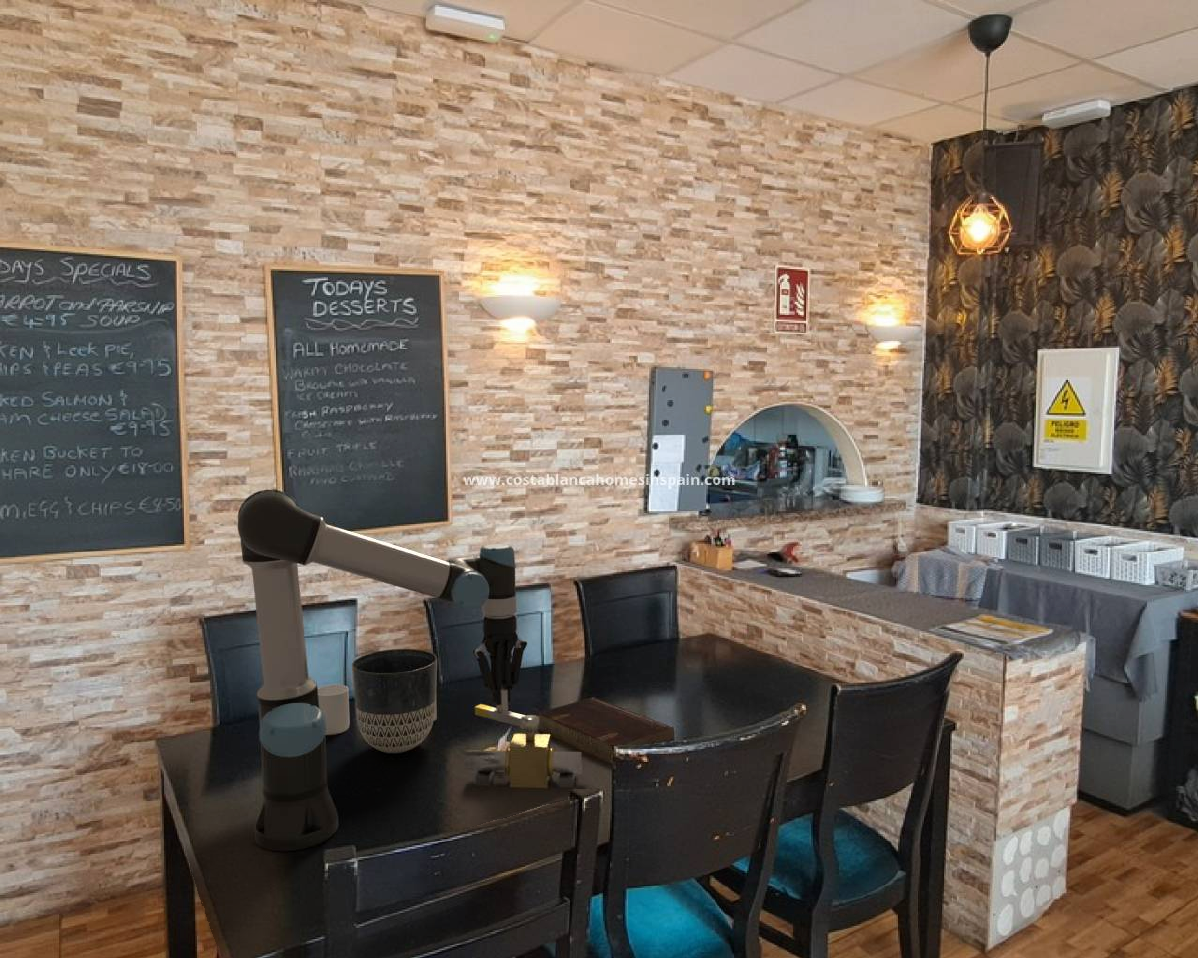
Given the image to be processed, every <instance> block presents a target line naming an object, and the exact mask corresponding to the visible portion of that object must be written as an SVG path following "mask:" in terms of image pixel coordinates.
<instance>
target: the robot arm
mask: <svg viewBox="0 0 1198 958" xmlns="http://www.w3.org/2000/svg"><path fill="white" fill-rule="evenodd" d="M237 532H238V536H239V538H240V547H241V548H240V549H241V556H242V562H243V564H245V565H247V566H248V567H249V568H250V570H251V572H252V583H253V591H254V592H253V593H254V602H255V610H256V621H257V631H258V638H259V647H260V658H261V659H260V660H261V666H262V667H261V668H262V676H263V685H262V686H261V687H260V688H259V689H258V691H257V693H256V697H257V705H258V714H259V715H258V716H259V717H258V718H259V728H260V729H259V730H258V731H259V732H258V733H259V734H258V736H259V742H260V753H261V777H262V778H261V780H262V800H261V803H260V807H259V811H258V814H257V817H256V820H255V824H254V840H255V841H254V842H255V843H256V844H257V846H259V847H260V848H262V849H265V850H268V851H272V852H274V851H275V852H292V851H294V852H295V851H299V850H305V849H309V848H311V847H314V846H316V845H319V844H321V843H323V842H325V841H327V840H328V839H330V838H331V837H333V835H334V834H335V833H336V832H337V831H338V828H339V814H338V811H337V808H336V806H335V804H334V801H333V798H332V795H331V794H330V791H329V789H328V773H327V772H328V771H327V770H328V769H327V767H328V766H327V744H326V743H327V741H326V740H327V739H326V735H325V733H326V722H325V718H324V714H323V712H322V711H321V710H320V707H319V697H318V688H319V687H318V682H317V680H315V679H313V678H312V677H311V676H309V668H308V658H307V648H306V637H305V627H304V617H303V609H302V608H303V606H302V598H301V589H300V588H301V587H300V578H299V576H300V575H299V568H298V564H299V565H301V566H305V567H306V566H307V565H310V564H311V563H315V564H318V565H321V566H325V567H328V568H331V569H336V570H338V571H342V572H345V573H349V574H353V575H355V576H356V575H357V576H360V577H363V578H367V579H370V580H374V581H377V582H380V583H385V584H387V585H391V586H395V587H397V588H400V589H404V590H409V591H413V592H415V593H419V594H423V595H425V596H429V597H433V598H436V599H439V600H441V601H445V602H448V603H452V604H455V605H456V606H457V607H458V608H460V609H463V610H466V611H474V610H477V609H479V608H481V612H482V614H483V616H482V618H481V619H482V620H481V621H482V633H483V638H482V641H481V645H479V647H478V648H473V650H472V654H473V655H474V656H475V658H476V659H477V660H476V661H477V662H478V666H479V669H480V673H481V674H480V675H481V679H482V681H483V685H484V687H485V688H486V689H488V690H489V691H492V699H493V704H494V705H496V708H498V709H502V710H506V711H509V706H508V705H509V703H511V691H512V690H513V689H514V685H515V686H516V685H518V683H519V679H520V678H519V677H520V672H521V667H522V661H523V656H524V651H525V650H526V647H528V642H527V640H526V641H525V640H523V639H520V638H519V636H518V633H517V630H518V626H517V615H516V612H517V594H516V558H515V550H514V548H513V547H512V546H511V545H509V544H503V543H495V544H494V543H493V544H486V545H483V546H481V548H480V551H479V555H474V556H466V557H454V558H453V557H452V558H440V559H439V558H435V557H434V556H433V557H432V556H430V555H426V554H423V553H421V552H416V551H414V550H410V549H407V548H404V547H401V546H397V545H394V544H392V543H388V542H384V541H381V540H379V539H378V540H377V539H375V538H372V537H368V536H365V535H363V534H360V533H355V532H352V531H349V530H346V529H343V528H340V527H336V526H334V525H329V524H327V523H326V521H325V520H324V518H323V517H322V516H319V515H316V514H312V513H310V512H308V511H306V510H304V509H302V508H300V507H299V504H298V502H297V501H296V500H295V499H294V498H293V497H292V496H291V495H290V494H289V493H286V492H284V491H281V490H277V489H262V490H259V491H256V492H254V493H252V494H250V495H248V496H247V497H246V498H245V499H244V500H243V502H242V503H241V505H240V507H239V510H238V513H237ZM487 652H488V654H489V655H488V654H487ZM487 655H488V656H489V660H490V664H489V661H488V658H487Z"/></svg>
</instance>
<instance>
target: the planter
mask: <svg viewBox="0 0 1198 958" xmlns="http://www.w3.org/2000/svg"><path fill="white" fill-rule="evenodd" d="M351 669H352V670H351V671H352V683H353V692H354V704H355V713H356V716H355V717H356V720H357V721H356V722H357V725H358V728H359V731H360V734H361V736H362V737H363V738H364V740H365V741H366V742H367V743H368V744H369V745H370V746H371V747H372V748H374V749H376V750H378V751H380V752H383V753H385V754H401V753H405V752H408V751H410V750H412V749H414V748H416V747H417V746H419V745H420V744H421V743H422V742H423V741H424V740H425V739H426V738H427V736H428V735H429V734H430V732H431V729H432V728H433V724H434V722H435V721H434V716H435V705H436V704H437V674H438V672H437V671H438V658H437V656H436V654H434V653H433V652H430V651H427V650H423V649H416V648H415V649H414V648H396V649H394V648H392V649H384V650H378V651H373V652H369V653H367V654H364V655H362V656H359V657H357V658H356V659H354V661H352V663H351Z"/></svg>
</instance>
